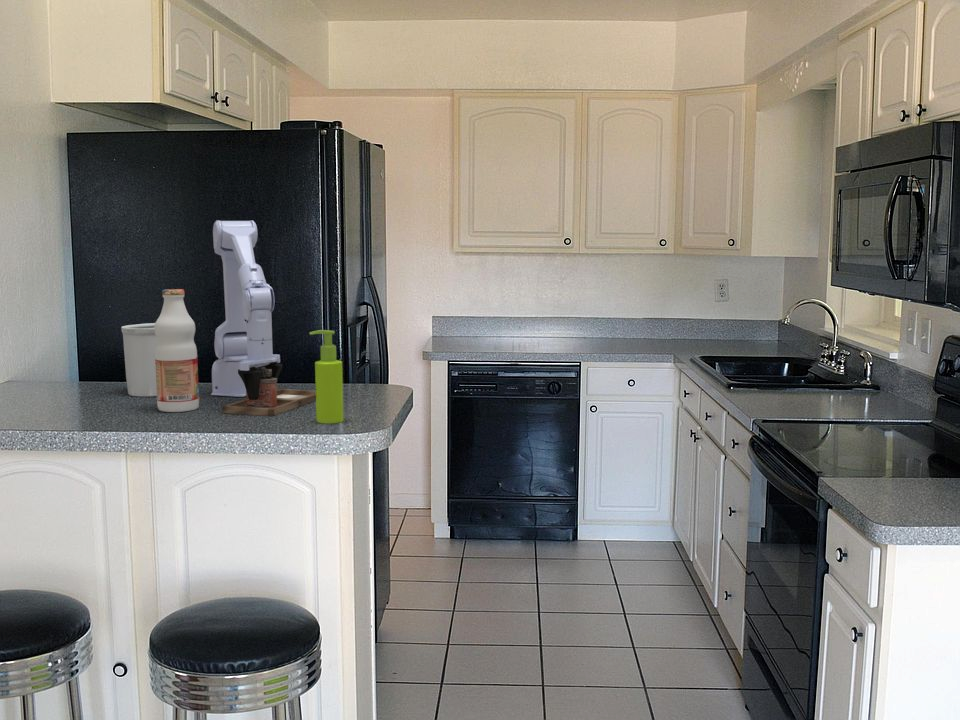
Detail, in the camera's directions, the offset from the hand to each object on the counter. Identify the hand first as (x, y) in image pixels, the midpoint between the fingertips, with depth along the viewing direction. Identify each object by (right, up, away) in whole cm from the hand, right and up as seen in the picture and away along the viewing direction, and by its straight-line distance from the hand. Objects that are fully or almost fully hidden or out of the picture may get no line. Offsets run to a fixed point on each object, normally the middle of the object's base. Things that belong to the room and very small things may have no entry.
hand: (261, 397), depth 230 cm
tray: (+2, -2, +6) cm, 7 cm away
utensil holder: (-33, 0, +25) cm, 41 cm away
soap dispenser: (+17, -5, -13) cm, 23 cm away
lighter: (0, -3, 0) cm, 3 cm away
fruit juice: (-20, -3, +1) cm, 20 cm away
